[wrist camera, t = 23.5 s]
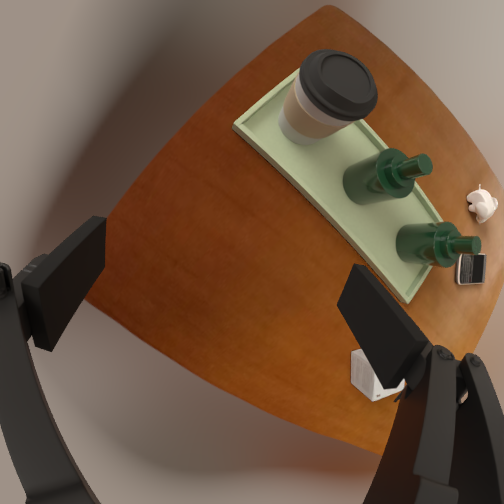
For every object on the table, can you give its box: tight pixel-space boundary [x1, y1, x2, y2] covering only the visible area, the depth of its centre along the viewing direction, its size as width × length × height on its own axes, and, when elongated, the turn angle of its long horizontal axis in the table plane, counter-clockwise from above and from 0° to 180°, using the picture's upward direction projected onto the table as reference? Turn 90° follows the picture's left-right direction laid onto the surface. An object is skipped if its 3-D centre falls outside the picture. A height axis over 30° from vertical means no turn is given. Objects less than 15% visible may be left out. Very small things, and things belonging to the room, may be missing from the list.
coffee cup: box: [278, 49, 378, 145], centre depth 31 cm, size 9×9×15 cm
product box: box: [351, 349, 405, 402], centre depth 39 cm, size 6×6×7 cm
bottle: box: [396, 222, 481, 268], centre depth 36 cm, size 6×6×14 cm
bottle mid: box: [343, 148, 433, 205], centre depth 34 cm, size 6×6×14 cm
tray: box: [232, 68, 443, 304], centre depth 40 cm, size 38×16×2 cm, turn 48°
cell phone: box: [456, 253, 486, 285], centre depth 46 cm, size 6×11×1 cm, turn 87°
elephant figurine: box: [467, 184, 498, 225], centre depth 44 cm, size 7×8×6 cm
